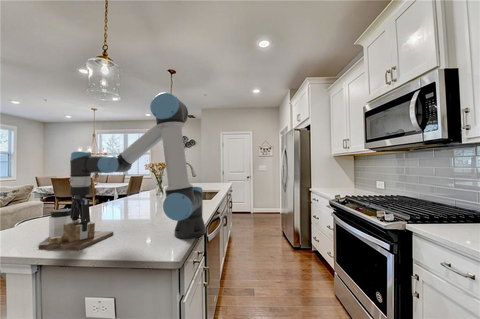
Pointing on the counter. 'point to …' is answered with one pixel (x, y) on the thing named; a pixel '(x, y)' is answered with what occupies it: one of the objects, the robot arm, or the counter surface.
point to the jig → (76, 242)
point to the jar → (59, 221)
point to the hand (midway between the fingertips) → (79, 236)
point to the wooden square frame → (73, 232)
